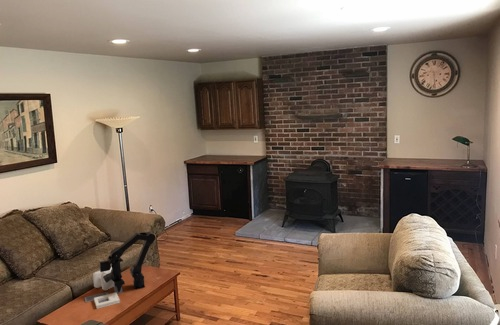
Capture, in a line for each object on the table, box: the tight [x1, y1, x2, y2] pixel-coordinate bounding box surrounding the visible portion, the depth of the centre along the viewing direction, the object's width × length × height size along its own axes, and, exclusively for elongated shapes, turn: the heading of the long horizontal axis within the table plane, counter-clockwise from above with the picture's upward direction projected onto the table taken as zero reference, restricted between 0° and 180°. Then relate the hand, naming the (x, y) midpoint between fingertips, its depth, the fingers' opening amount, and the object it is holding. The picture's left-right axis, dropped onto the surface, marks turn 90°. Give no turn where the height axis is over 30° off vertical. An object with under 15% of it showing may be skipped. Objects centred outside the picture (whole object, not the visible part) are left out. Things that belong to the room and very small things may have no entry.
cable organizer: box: [92, 266, 114, 291], centre depth 277 cm, size 15×11×12 cm
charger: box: [113, 285, 123, 295], centre depth 268 cm, size 5×4×6 cm
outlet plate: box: [93, 292, 121, 310], centre depth 256 cm, size 14×12×2 cm
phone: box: [84, 291, 109, 303], centre depth 262 cm, size 7×14×1 cm, turn 118°
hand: (118, 290), depth 269 cm, fingers closed on charger, 4 cm apart
